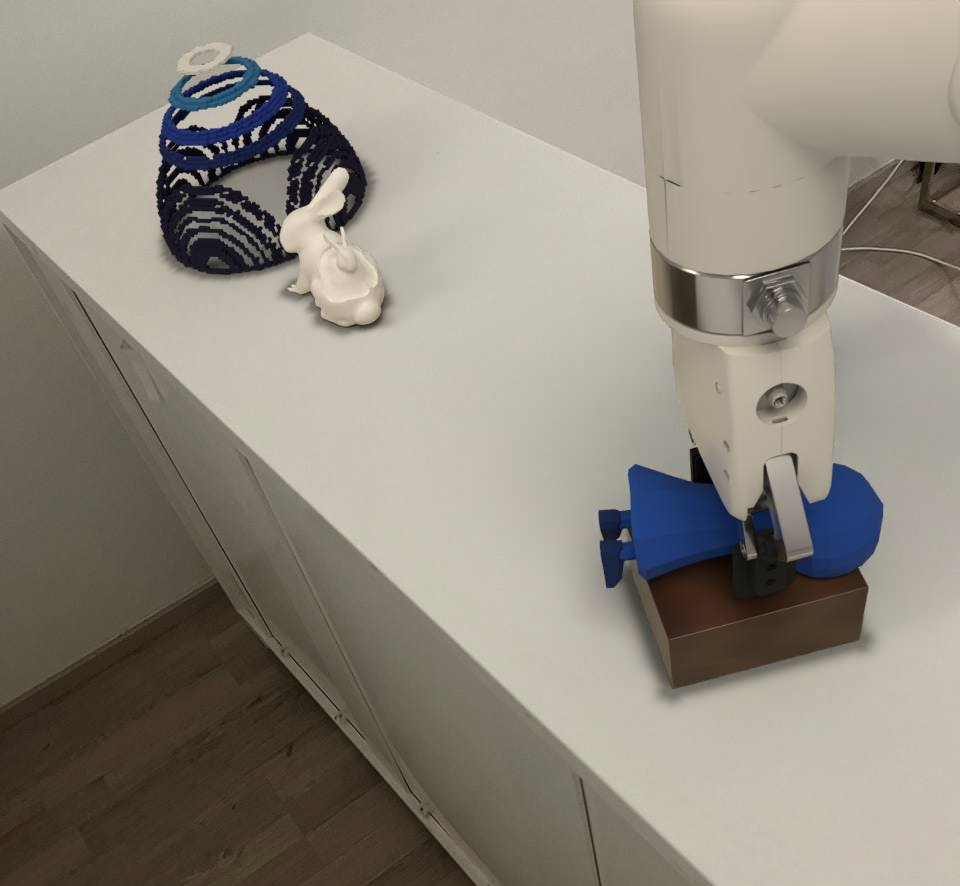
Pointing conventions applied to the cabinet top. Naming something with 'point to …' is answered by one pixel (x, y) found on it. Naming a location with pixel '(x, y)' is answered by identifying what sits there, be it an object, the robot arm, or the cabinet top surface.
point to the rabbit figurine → (333, 259)
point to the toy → (732, 525)
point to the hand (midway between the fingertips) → (740, 537)
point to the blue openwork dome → (242, 161)
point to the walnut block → (744, 618)
